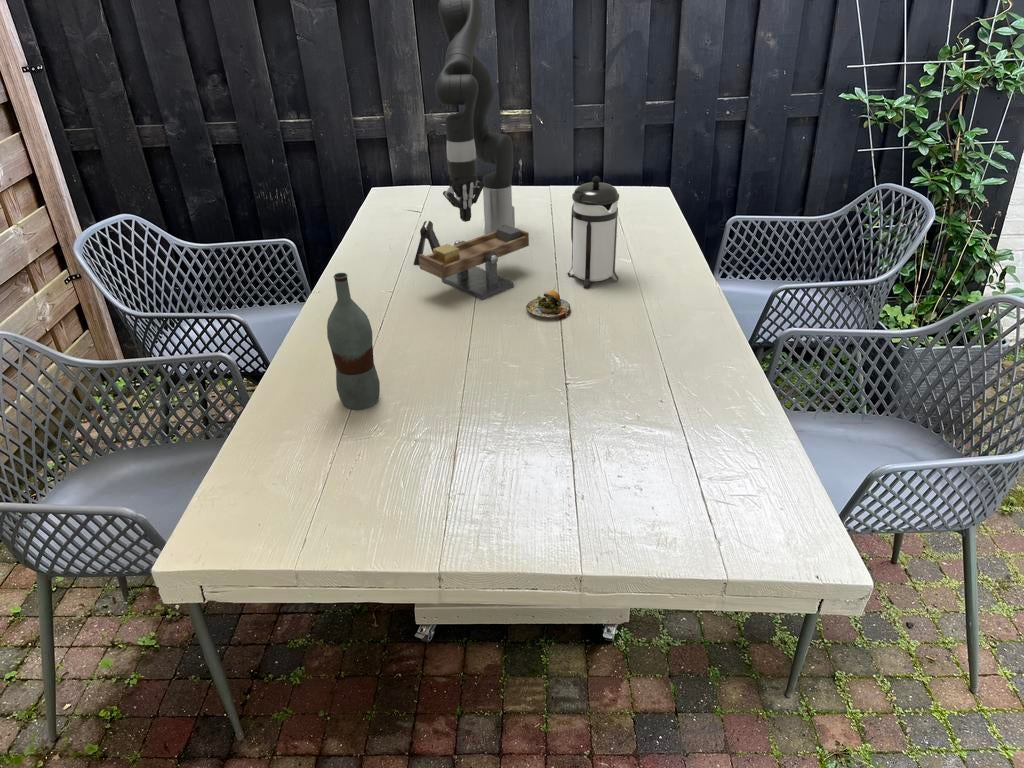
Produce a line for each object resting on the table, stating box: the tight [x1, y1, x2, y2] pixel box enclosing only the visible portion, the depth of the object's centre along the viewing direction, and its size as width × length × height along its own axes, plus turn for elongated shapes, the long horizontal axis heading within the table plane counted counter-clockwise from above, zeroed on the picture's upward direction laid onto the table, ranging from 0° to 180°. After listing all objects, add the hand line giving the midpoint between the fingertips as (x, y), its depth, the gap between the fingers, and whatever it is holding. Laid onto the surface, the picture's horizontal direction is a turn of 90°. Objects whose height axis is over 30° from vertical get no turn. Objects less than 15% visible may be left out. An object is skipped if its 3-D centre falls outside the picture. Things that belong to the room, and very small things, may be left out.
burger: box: [525, 284, 572, 321], centre depth 197 cm, size 12×12×8 cm
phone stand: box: [413, 220, 441, 266], centre depth 227 cm, size 9×6×12 cm, turn 86°
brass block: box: [432, 243, 460, 266], centre depth 202 cm, size 5×5×4 cm
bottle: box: [326, 272, 381, 411], centre depth 156 cm, size 9×9×30 cm
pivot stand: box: [441, 240, 515, 301], centre depth 212 cm, size 12×18×11 cm, turn 43°
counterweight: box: [497, 226, 522, 242], centre depth 216 cm, size 4×6×3 cm, turn 43°
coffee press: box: [567, 175, 620, 289], centre depth 209 cm, size 17×16×30 cm
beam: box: [419, 224, 530, 280], centre depth 209 cm, size 32×10×4 cm, turn 133°
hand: (465, 220), depth 202 cm, fingers closed
